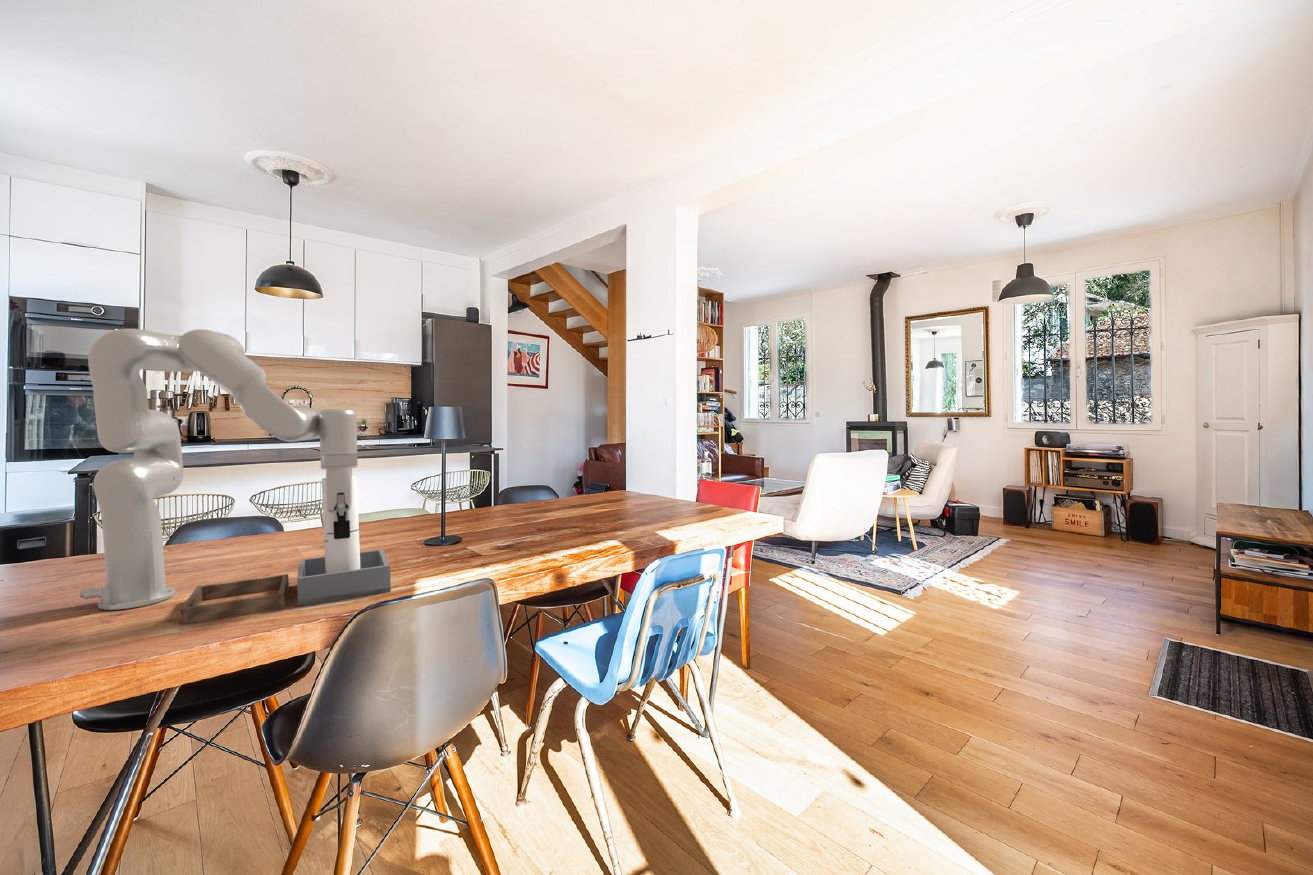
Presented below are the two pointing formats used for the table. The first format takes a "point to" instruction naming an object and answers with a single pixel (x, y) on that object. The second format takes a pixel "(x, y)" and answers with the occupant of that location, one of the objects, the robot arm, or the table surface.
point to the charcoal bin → (342, 579)
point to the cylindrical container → (341, 550)
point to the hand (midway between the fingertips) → (341, 534)
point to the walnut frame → (199, 613)
